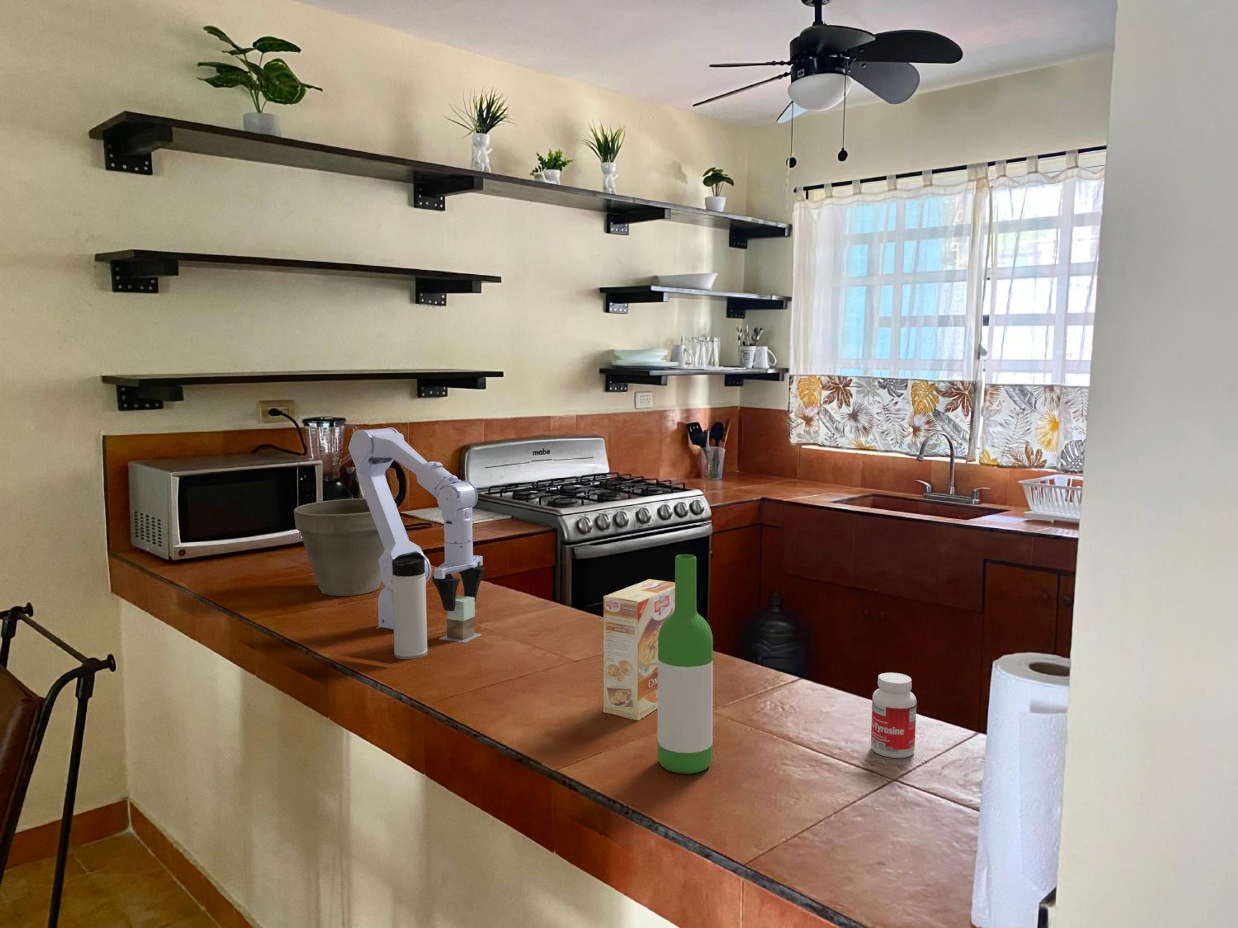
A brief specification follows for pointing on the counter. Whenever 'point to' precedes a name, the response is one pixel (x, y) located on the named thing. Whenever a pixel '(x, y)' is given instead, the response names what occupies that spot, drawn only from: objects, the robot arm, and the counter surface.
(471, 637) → the white square board
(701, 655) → the wine bottle
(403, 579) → the travel mug
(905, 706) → the pill bottle
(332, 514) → the plant pot
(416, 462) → the robot arm
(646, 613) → the coffeecake box
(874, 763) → the counter surface
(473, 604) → the green block
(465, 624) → the walnut block
